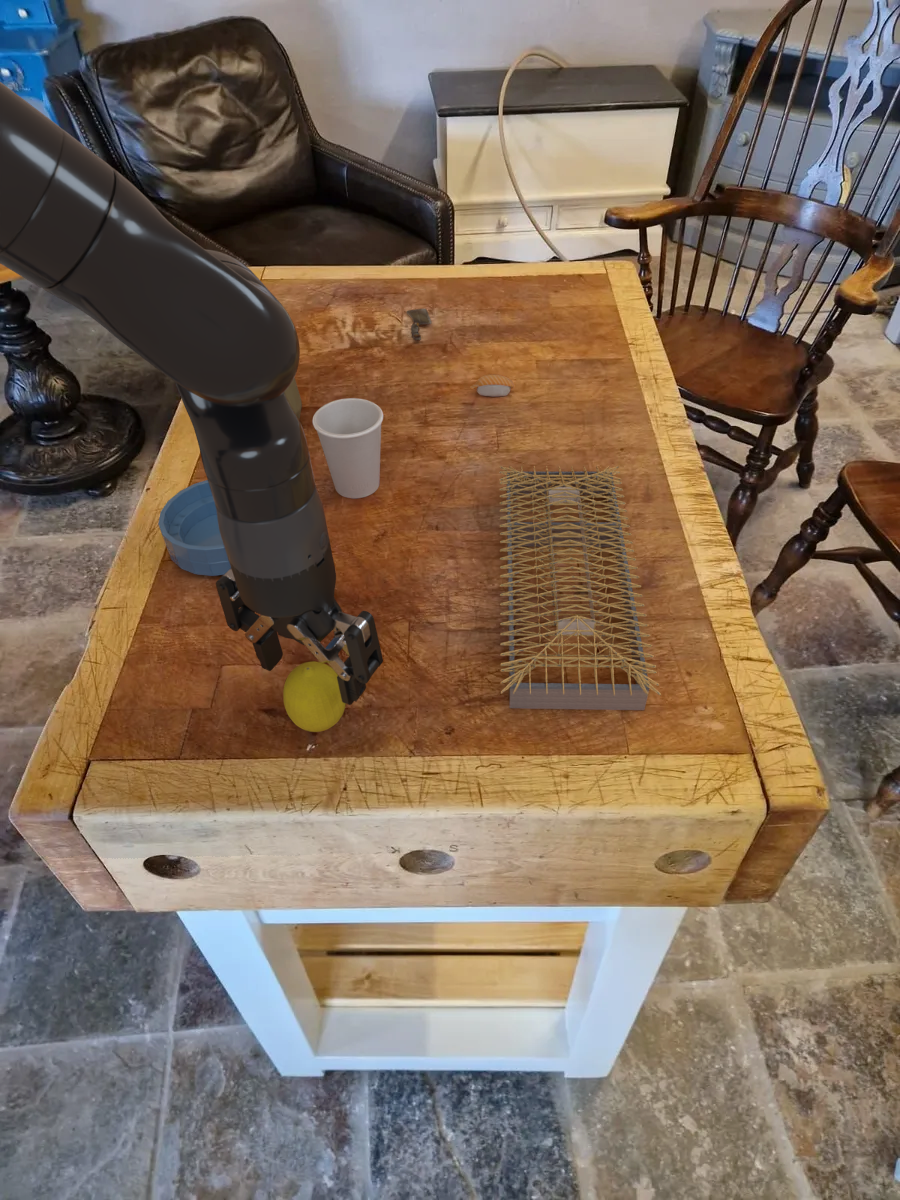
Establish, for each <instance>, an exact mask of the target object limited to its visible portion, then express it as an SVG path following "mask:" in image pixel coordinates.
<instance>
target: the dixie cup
mask: <svg viewBox="0 0 900 1200" xmlns="http://www.w3.org/2000/svg"><path fill="white" fill-rule="evenodd" d="M383 420H384V412H383V409H382V408H381V406H379V405H377V404H376V403H375V402H373V401H370V400H367V399H364V398H358V397H357V398H356V397H351V398H341V399H336V400H333V401H330V402H327V403H326V404H324V405H322V406H321V407H320V408H319V409H317V410H316V412H315V413H314V414H313V417H312V426H313V428H314V430H316V432H317V436H318V439H319V442H320V445H321V448H322V451H323V454H324V457H325V461H326V464H327V467H328V470H329V473H330V476H331V479H332V483H333V486H334V489H335V491H336V493H337V494H338V495H340V496H342V497H344V498H348V499H361V498H366V497H368V496H371V495H373V494H374V493H375V492H377V490H378V489H379V487H380V479H381V450H382V449H381V448H382V423H383Z"/></svg>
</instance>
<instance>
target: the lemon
mask: <svg viewBox="0 0 900 1200" xmlns="http://www.w3.org/2000/svg"><path fill="white" fill-rule="evenodd" d="M337 676H338V675H337V673H336V672H335V671H334V670H333V669H332V668H331V666H330V665H329V664H327V663H321V662H319V661H314V660H313V661H306V662H302V663H300V664H298V665H297V666H296V667H294V668H293V669H291V671H290V672H289V673H288V675H287V677H286V679H285V682H284V686H283V690H282V698H283V699H282V700H283V706H284V709H285V711H286V714H287V715H288V716H287V717H289V719H290V720H291V721H292V723H294V725H295V726H296V727H298V728H300V729H301V730H304V731H306V732H311V733H320V732H324V731H327V730H329V729H331V728H332V727H334V726H335V725H336V724H337V723H338V722H339V721H340V719H341V718H342V716H343V715H344V712H345V709H346V705H347V704H346V703H343V702H342V699H341V694H340V689H339V685H338V680H337Z"/></svg>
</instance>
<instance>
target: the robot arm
mask: <svg viewBox="0 0 900 1200" xmlns="http://www.w3.org/2000/svg"><path fill="white" fill-rule="evenodd" d="M0 265H2V266H4V267H5V268H6V269H9V270H10V271H12V272H13V273H14V274H17V275H19V276H20V277H22V278H23V279H25V280H27V281H29V282H30V283H32V284H33V285H35V286H37V287H38V288H41V289H42V290H43V291H44V292H47V293H49V294H51V295H52V296H54V297H56V298H58V299H60V300H62V301H64V302H66V303H67V304H69V305H72V306H73V307H75V308H77V309H78V310H79V311H81V312H83V313H84V314H86V315H87V316H89V318H91V319H93V320H94V321H95V322H97V323H98V324H99V325H101V326H102V327H103V328H104V329H106V330H107V332H109V333H110V334H112V335H113V336H114V337H115V338H116V339H117V340H118V341H120V342H122V343H123V344H124V345H125V346H127V347H128V348H129V349H130V350H131V351H133V352H134V353H135V354H137V355H138V356H139V357H140V358H142V359H143V360H145V361H146V362H148V364H150V365H152V367H154V368H155V369H157V370H158V371H159V372H161V373H162V374H163V375H165V376H166V377H167V378H168V379H170V380H172V381H173V382H174V384H175V386H176V389H177V392H178V394H179V396H180V398H181V401H182V403H183V406H184V408H185V410H186V413H187V415H188V417H189V419H190V422H191V425H192V427H193V430H194V433H195V437H196V440H197V445H198V448H199V453H200V458H201V463H202V467H203V470H204V473H205V476H206V480H208V482H209V486H210V489H211V492H212V495H213V499H214V502H215V506H216V511H217V519H218V525H219V530H220V534H221V537H222V540H223V544H224V547H225V550H226V553H227V556H228V560H229V563H230V566H231V568H230V569H229V570H228V571H227V572H226V573H225V574H224V575H221V577H219V578H218V579H217V581H216V582H215V587H216V590H217V594H218V597H219V600H220V604H221V608H222V612H223V615H224V619H225V622H226V625H227V627H228V628H229V629H230V630H232V631H234V632H238V631H239V630H241V631H243V632H244V636H245V638H246V640H248V642H250V643H252V646H253V649H254V652H255V655H256V658H257V660H258V661H259V663H260V666H261V668H262V669H264V670H266V671H269V672H271V671H272V670H273V669H274V668H275V667H276V666H277V665H278V664H279V663H280V661H281V660H282V658H283V655H284V652H283V648H282V645H281V642H280V639H279V636H280V637H282V638H284V639H290V640H293V641H295V642H297V643H299V644H300V645H303V646H305V648H307V649H308V651H309V652H310V653H311V655H313V657H314V658H315V659H316V660H317V662H321V663H324V664H327V665H328V666H330V667H331V668H332V669H333V670H334V671H335V672H336V673H337V675H338V676H337V680H338V685H339V689H340V694H341V699H342V702H343V703H346V705H348V706H351V705H353V703H354V702H357V701H358V700H359V699H360V698H361V696H362V695H363V693H364V692H365V691H366V689H367V685H366V684H368V683H369V681H370V680H371V678H372V676H373V675H374V674H375V672H377V670H378V668H379V667H381V665H382V664H383V663H384V657H383V654H382V649H381V643H380V640H379V635H378V631H377V627H376V621H375V617H374V615H373V614H372V613H370V612H369V611H368V610H361V611H360V613H359V614H358V615H357V616H355V615H351V614H349V613H345V612H344V611H343V610H342V608H341V606H340V605H339V603H338V601H337V600H336V596H335V590H336V584H337V572H336V565H335V560H334V555H333V550H332V546H331V540H330V534H329V530H328V525H327V519H326V515H325V510H324V506H323V505H324V504H323V501H322V499H321V496H320V494H319V491H318V488H317V485H316V482H315V481H316V479H315V475H314V471H313V470H314V469H313V465H312V460H311V455H310V450H309V449H310V448H309V445H308V442H307V437H306V434H305V431H304V428H303V426H302V423H301V421H300V419H298V417H297V415H296V414H295V412H294V410H293V409H292V407H291V405H290V404H289V402H288V400H287V398H286V395H285V393H284V392H285V391H286V389H287V388H288V387H289V386H290V384H291V383H292V381H293V379H294V377H296V374H297V371H298V369H299V365H300V358H301V357H300V355H301V351H300V350H301V349H300V340H299V335H298V332H297V329H296V326H295V324H294V321H293V319H292V318H291V315H290V314H289V312H288V311H287V309H286V308H285V306H284V305H283V303H281V302H280V301H279V299H277V297H276V296H275V295H274V294H273V293H272V292H271V291H270V290H269V289H268V287H267V286H266V285H265V284H264V283H263V282H262V280H261V279H260V278H259V277H258V276H257V275H256V274H255V273H254V272H253V271H252V270H251V269H250V268H249V267H248V266H247V265H245V264H244V263H243V262H242V261H240V260H238V259H237V258H235V257H233V256H231V255H229V254H227V253H225V252H222V251H219V250H213V249H205V248H204V247H202V246H201V245H199V243H197V242H195V241H194V240H193V239H191V238H190V237H189V236H187V235H185V234H184V233H183V232H182V231H180V229H178V228H177V227H176V226H174V225H173V224H172V223H171V222H170V221H169V220H168V219H167V218H166V217H165V216H164V215H163V214H162V213H161V212H160V210H159V209H157V207H156V206H155V204H154V203H152V201H151V200H150V199H149V198H148V197H147V196H146V195H145V194H143V192H141V190H140V189H139V188H137V187H136V186H135V185H134V183H132V182H131V181H130V180H128V179H127V178H126V177H125V176H124V175H122V174H121V173H120V172H119V171H118V170H116V168H114V167H112V166H111V165H110V164H109V163H107V162H106V161H105V160H103V159H102V158H101V157H100V156H98V155H97V154H96V153H95V152H93V151H92V150H91V149H89V148H88V147H87V146H85V145H84V144H83V143H82V142H80V141H79V140H78V139H77V138H75V137H74V136H73V135H71V134H70V133H68V132H67V131H66V130H65V129H63V128H61V127H60V125H58V124H57V123H56V122H55V121H53V120H52V119H51V118H49V117H48V116H46V115H45V114H44V113H42V112H41V111H40V110H39V109H37V108H35V106H33V105H32V104H31V103H29V102H28V101H27V100H26V99H24V98H23V97H21V96H20V95H18V94H17V93H16V92H15V91H14V90H12V89H11V88H9V87H8V86H6V85H5V84H4V83H2V82H1V81H0ZM332 631H333V638H332V639H331V640H330V641H329V642H328V644H327V645H326V646H324V645H323V643H321V642H322V641H323V640H324V639H326V637H328V635H329V634H331V633H332ZM342 650H343V651H344V652H345V654H346V655H347V656H348V657H347V658H346V659H345V660H344V661H343V660H342V658H341V657H340V656H339V654H340V652H341V651H342Z"/></svg>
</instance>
